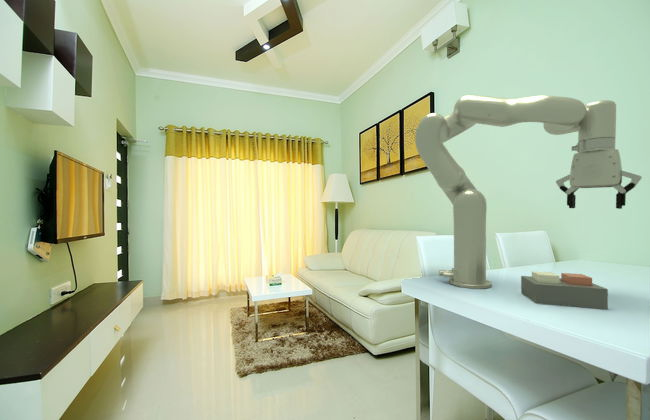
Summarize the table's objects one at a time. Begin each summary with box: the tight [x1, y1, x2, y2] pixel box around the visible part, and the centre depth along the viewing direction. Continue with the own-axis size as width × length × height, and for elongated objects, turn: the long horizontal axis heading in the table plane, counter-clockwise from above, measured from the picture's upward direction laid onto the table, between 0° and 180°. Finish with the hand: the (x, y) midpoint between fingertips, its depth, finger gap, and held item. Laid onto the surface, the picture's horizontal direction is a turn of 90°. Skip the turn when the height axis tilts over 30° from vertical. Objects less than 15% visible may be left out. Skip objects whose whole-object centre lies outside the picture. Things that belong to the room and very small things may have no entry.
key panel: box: [520, 275, 609, 310], centre depth 75 cm, size 15×10×5 cm, turn 73°
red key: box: [560, 272, 593, 286], centre depth 74 cm, size 5×5×3 cm
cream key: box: [531, 270, 560, 284], centre depth 77 cm, size 5×5×3 cm
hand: (594, 208), depth 78 cm, fingers open, 9 cm apart
